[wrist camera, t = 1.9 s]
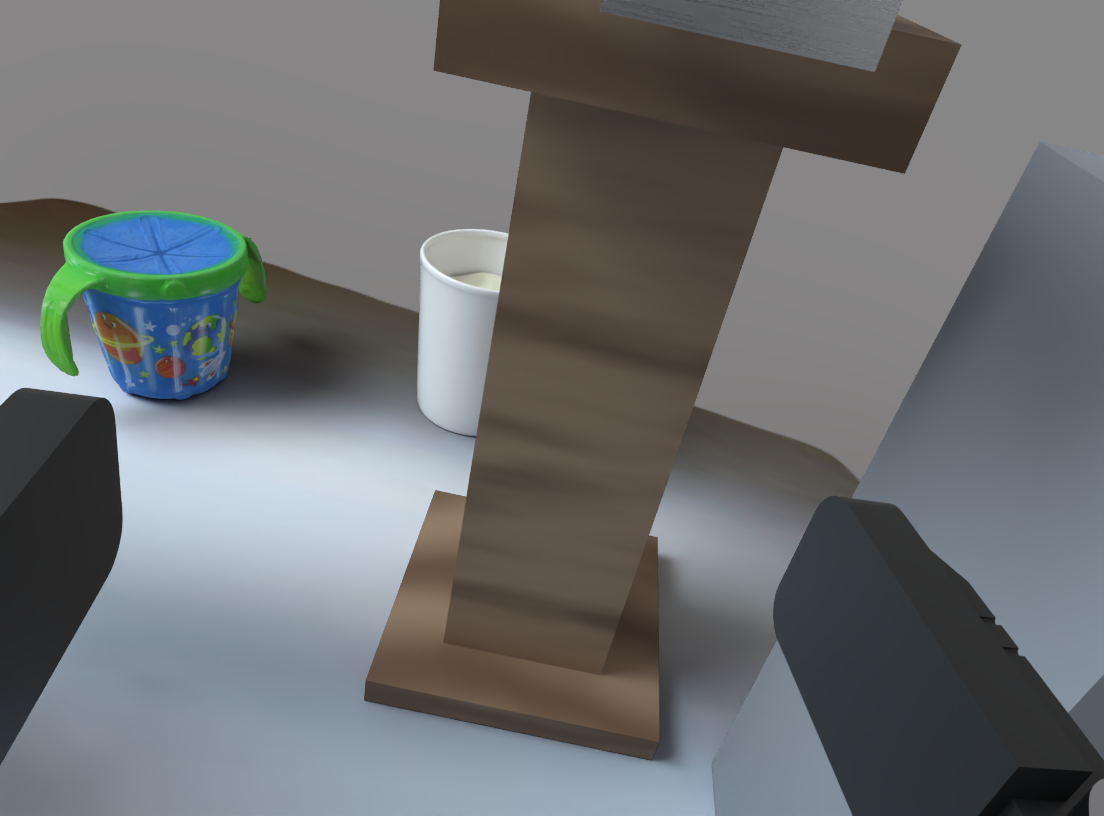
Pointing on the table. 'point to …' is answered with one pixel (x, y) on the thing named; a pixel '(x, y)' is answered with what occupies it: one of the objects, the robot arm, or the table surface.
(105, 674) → the table surface
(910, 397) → the slate plinth
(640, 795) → the table surface
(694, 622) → the table surface
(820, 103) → the walnut pedestal
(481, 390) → the candle holder
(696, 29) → the aluminium bar
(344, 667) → the table surface
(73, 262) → the snack cup
